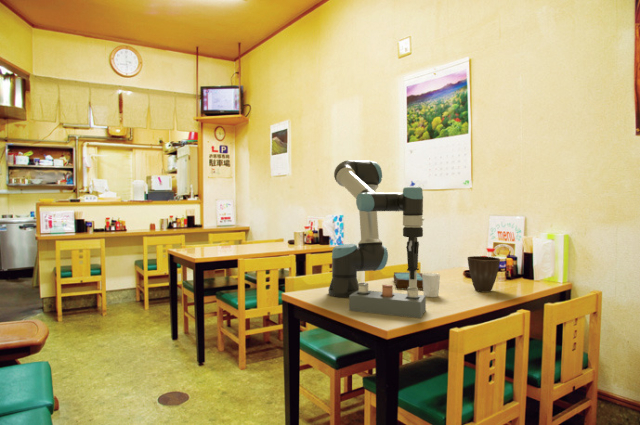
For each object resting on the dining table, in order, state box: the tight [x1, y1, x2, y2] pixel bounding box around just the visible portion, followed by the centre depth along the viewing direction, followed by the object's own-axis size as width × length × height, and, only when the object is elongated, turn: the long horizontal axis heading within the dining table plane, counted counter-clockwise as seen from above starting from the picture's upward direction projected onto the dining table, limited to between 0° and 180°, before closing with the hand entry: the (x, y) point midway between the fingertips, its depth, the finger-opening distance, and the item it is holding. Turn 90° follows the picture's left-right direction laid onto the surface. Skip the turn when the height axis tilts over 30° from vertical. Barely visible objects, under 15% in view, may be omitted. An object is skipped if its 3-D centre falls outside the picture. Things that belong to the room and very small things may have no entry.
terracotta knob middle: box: [381, 284, 394, 297], centre depth 160 cm, size 4×4×6 cm
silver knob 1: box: [358, 282, 369, 295], centre depth 164 cm, size 4×4×6 cm
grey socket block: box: [348, 290, 427, 319], centre depth 160 cm, size 28×12×6 cm, turn 66°
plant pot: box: [467, 255, 501, 293], centre depth 197 cm, size 15×15×16 cm
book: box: [393, 271, 423, 290], centre depth 213 cm, size 23×18×5 cm
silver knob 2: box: [406, 287, 419, 300], centre depth 156 cm, size 4×4×6 cm
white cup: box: [422, 272, 441, 298], centre depth 186 cm, size 8×8×10 cm
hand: (412, 287), depth 156 cm, fingers closed
